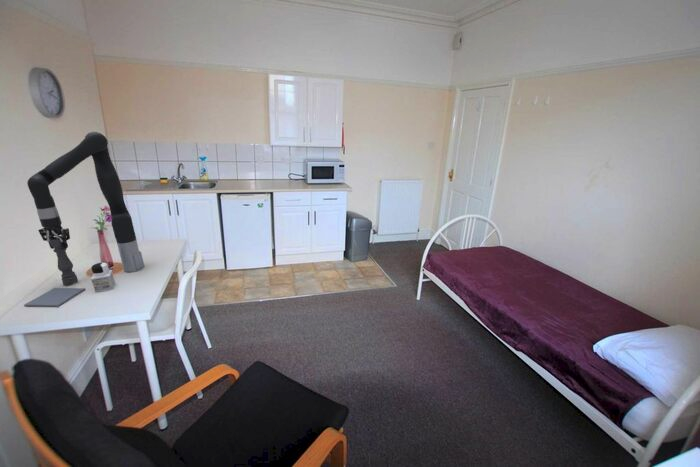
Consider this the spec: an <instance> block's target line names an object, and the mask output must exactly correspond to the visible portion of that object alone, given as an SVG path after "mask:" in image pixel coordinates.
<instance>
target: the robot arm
mask: <svg viewBox="0 0 700 467" xmlns="http://www.w3.org/2000/svg"><path fill="white" fill-rule="evenodd" d="M108 145H109V142H108V138H107V136H105V135H104V134H102V133H101V132H98V131H91V132H88V133H87V134H86V135H85V136H84V139H83V140H81V141H80V143H79V144H78V145H76V146H75V147H74V148H73V149H71V150H69V151H68V152H66V153H64V154H63V155H61V156H60V157H58V158H56V159H55V160H53V161H52V162H50V163H49V164H48V165H46V166H45V167H44V168H43V169H41V170H39V171H38V172H36V173H34V174H33V175H31V177H29V179H28V180H27V181H26V182H27V187H28V189H29V192H30V194H31V196H32V198H33V200H34V201H33V202H34V205H35V208H36V212H37V215H38V218H39V219H38V220H39V222H40V225H41V227H42V228H40V229H38V232H39V235H40V237H41V238H42V241H44V242H47V243H48V245H49V248H50V249H51V250H54V248H53V247H52V246H51V244H50V241H49V239H50V238H52V237H57V238H58V239H59V240H60V241H61V244H62V247H63V249H66V248H67V249H68V247H69V245H68V242H67V241H68V240H71V236H70V230H69V228H67V227H66V228H63V226H62V220H61V216H60V213H59V210H58V208H57V206H56V204H55V200H54V197H53V196H52V195H51V191H50V188H49V186H51V184H52V183H54V182H55V181H57V180H58V179H61V178H62V177H64V176H65V175H67V174H68V173H69V172H71V171H73V170H74V168H76V167H77V166H78V165H79V164H81V163H82V162H83V161H85V160H87V159H88V158H89V157H92V160H93V163H94V169H95V170H94V171H95V175H96V179H97V182H98V186H99V188H100V190H101V192H102V193H101V194H102V195H103V197H104V198H105V199H104V200H106V202H107V205H108V208H109V211H110V215H111V227H112V230H113V235H114V238H115V240H116V245H117V248H118V252H119V257H120V260H121V264H122V269H123V272H125V273H132V272H133V273H134V272H138V271H140V270H142V269H143V268H144V267H145V263H144V259H143V254H142V252H141V250H139V244H138V241H137V240H138V239H137V235H136V233H135V227H134V222H133V218H132V216H131V214H130V212H129V210H128V208H127V205H126V203H125V197H124V192H123V188H122V183H121V180H120V177H119V174H118V172H117V170H116V167H115V165H114V163H113V161H112V160H111V155H110V152H109V147H108ZM61 237H63V239H62V238H61ZM67 249H66V250H67Z"/></svg>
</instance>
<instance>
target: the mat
mask: <svg viewBox="0 0 700 467" xmlns="http://www.w3.org/2000/svg"><path fill="white" fill-rule="evenodd" d="M85 291H86V288H84V287H82V288H81V287H80V288H79V287H78V288H77V287H53V288H51V289H50V290H47V291H46V292H45V293H43V294H41V295H39V296H37V297H35V298H33V299H32V300H30V301H28V302H26V303H25V304H23V306H24V307H25V306H27V308H28V307H29V308H30V307H31V308H35V307H36V308H60V306H62V305H65V304H66V303H68V302H70V301H71V300H72V299H74V298H75V297H77V296H79V295H81V294H82V293H83V292H85Z"/></svg>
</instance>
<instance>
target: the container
mask: <svg viewBox="0 0 700 467" xmlns="http://www.w3.org/2000/svg"><path fill="white" fill-rule="evenodd" d="M91 271H92V276H91V279H90V280H91V283H92V287H93V290H94V292H95V293H98V292H99V293H100V292H104V291H109V290H113V289H114V287H115V284H116V280H115V276H114V272H113V270H112V269H109V266H108V263H107V262H97V263H95V264H93V265H92V266H91Z"/></svg>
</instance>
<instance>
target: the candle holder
mask: <svg viewBox="0 0 700 467" xmlns="http://www.w3.org/2000/svg"><path fill="white" fill-rule="evenodd" d="M61 238H62V239H63V237H61ZM49 241H50V244H51V246H52V247H53V248H54V249H52V250H53V252H54V253H55V255H56V257H57V269H58V270H59V271H60V272H61V275H60V277H61V278H60V279H61V282H62V284H63V286H72V285H74V284H76V283H79V279H78V276H77V274H76V272H75V271H73V268H74V264H73V262H72V261H71V259H70V258H69V256H68V254H67V251H66V250H68V248H66V249H63V247H62V244H61V241H60V240H59V239H58V238H57V237H56V236H54V237H52V238H50V239H49Z"/></svg>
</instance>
